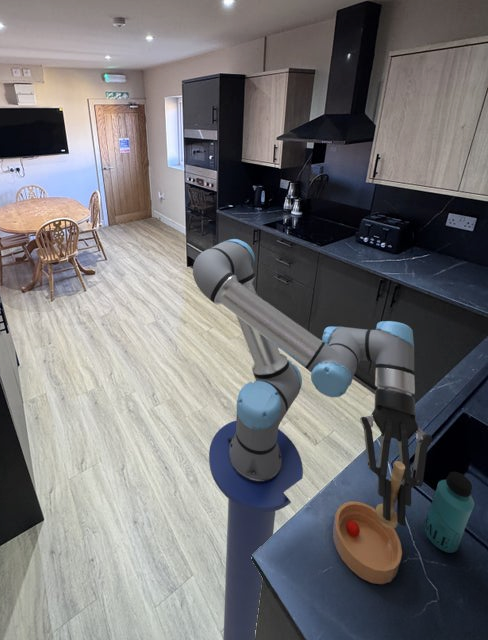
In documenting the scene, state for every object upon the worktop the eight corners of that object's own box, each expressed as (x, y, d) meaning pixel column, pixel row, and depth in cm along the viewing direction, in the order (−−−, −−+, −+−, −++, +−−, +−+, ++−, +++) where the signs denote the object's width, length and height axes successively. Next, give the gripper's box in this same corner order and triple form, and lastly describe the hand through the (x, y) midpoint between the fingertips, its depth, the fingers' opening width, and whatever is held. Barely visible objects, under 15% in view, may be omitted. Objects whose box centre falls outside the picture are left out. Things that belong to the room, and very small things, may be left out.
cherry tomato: (342, 530, 76) (344, 522, 75) (350, 523, 77) (351, 515, 76) (353, 542, 73) (355, 534, 73) (361, 535, 75) (363, 526, 74)
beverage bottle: (455, 536, 75) (478, 474, 69) (458, 566, 70) (483, 502, 63) (421, 518, 78) (440, 458, 72) (422, 546, 73) (442, 484, 67)
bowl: (320, 535, 75) (323, 521, 74) (354, 504, 81) (357, 490, 80) (374, 601, 65) (379, 586, 63) (409, 560, 71) (414, 545, 69)
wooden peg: (371, 514, 68) (383, 461, 63) (382, 503, 70) (394, 451, 65) (390, 533, 65) (405, 479, 60) (401, 521, 67) (416, 468, 62)
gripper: (428, 402, 72) (433, 532, 63) (354, 384, 78) (349, 501, 68) (440, 401, 66) (448, 545, 57) (360, 381, 71) (354, 510, 62)
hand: (393, 521), depth 62 cm, fingers closed on wooden peg, 2 cm apart
